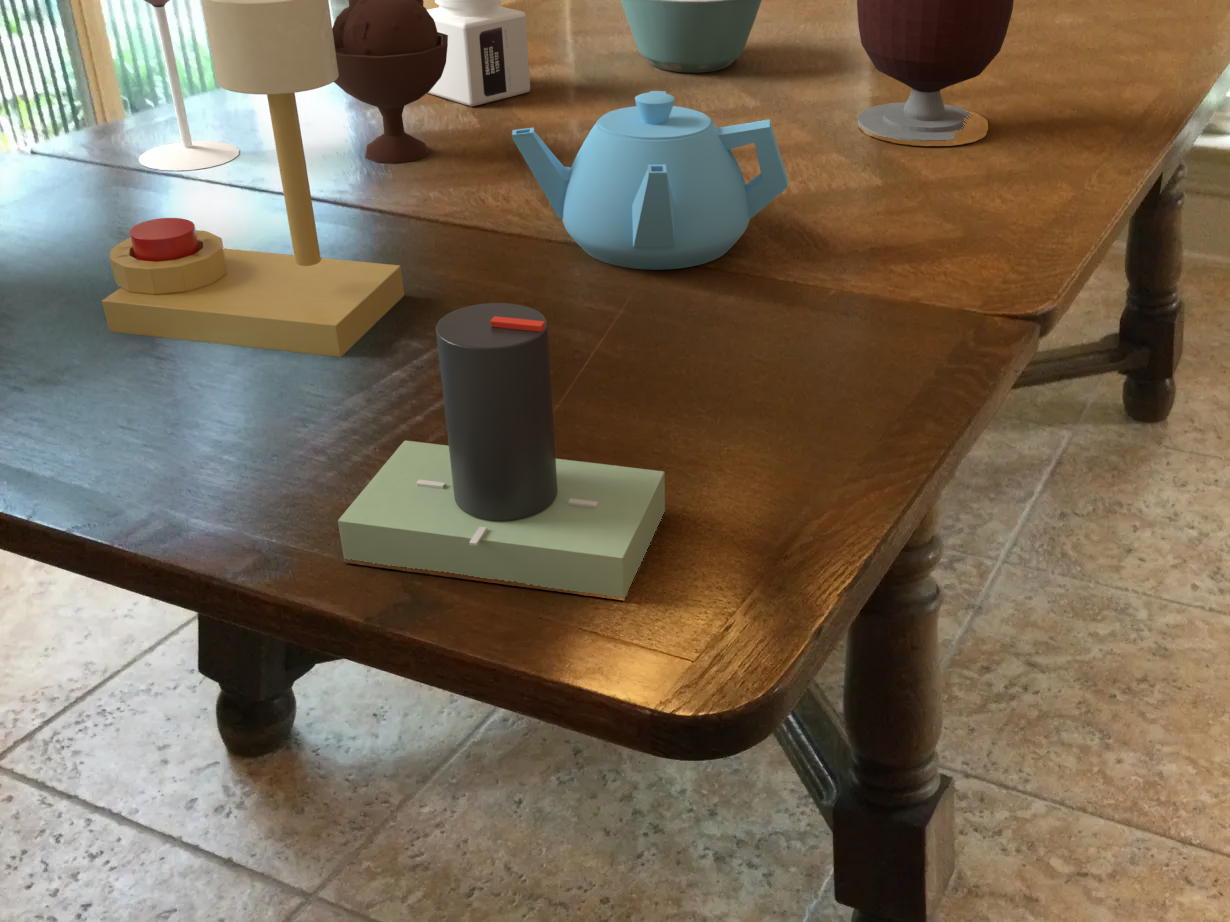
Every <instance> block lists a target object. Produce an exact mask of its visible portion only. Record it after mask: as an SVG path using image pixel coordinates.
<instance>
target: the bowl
mask: <svg viewBox="0 0 1230 922" xmlns="http://www.w3.org/2000/svg"><path fill="white" fill-rule="evenodd" d="M620 2H621V5H622V8H623V11H624V15H625V18H626V21H627V23H628V26H629V29H630V32H631V34H632V37H633V40H634V42H635V45H636V48H637V50H638V53H639V54H640V55H641V56H642V57H643V58H644V59H645V60H647V61H648V62H649V63H650V64H651V65H652V66H653V67H656V68H657V69H661V70H663V71H669V72H676V73H685V74H687V73H688V74H690V73H691V74H698V73H709V72H716V71H720V70H723V69H726V68H728V67H729V66H731V65H732V64H733V63H734V62H735V61H736V60H737V59H738V58H739V57H740V56H741V55H742V54H743V53H744V51H745V48H746V45H747V42H748V40H749V37H750V34H751V32H752V30H753V26H754V23H755V21H756V18H757V15H758V12H759V9H760V7H761V3H762V0H620Z"/></svg>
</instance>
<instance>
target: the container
mask: <svg viewBox="0 0 1230 922" xmlns="http://www.w3.org/2000/svg"><path fill="white" fill-rule="evenodd" d="M434 3H435V4H436V5H438V7H433V8H428V9H427V8H426V10H427V11H428V13H429V14H430V15H431V17H432V18H433V19H434V21H435V25H436V28H437V32H439V33H443V34H446V35H448V47H447V58H446V64H445V67H444V70H443V73H442V76H441V78H440V79H439V80H438V82H437V83H436V84H435V85H434V86H433V88H432V89H431V90H430V91H429V92H428V93H427V94H429V95H433V96H436V97H438V98H443V99H445V100H448V101H451V102H455V103H458V104H461V105H465V106H468V107H477V106H480V105H484V104H489V103H492V102H496V101H500V100H504V99H509V98H512V97H516V96H520V95H525V94H527V93H530V91H531V77H530V63H529V48H528V47H529V46H528V45H529V44H528V30H527V15H526V13H525V12H524V11H522V10H519V9H513V8H509V7H505V6H502V5H501V4H502V3H504V0H434Z"/></svg>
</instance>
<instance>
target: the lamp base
mask: <svg viewBox="0 0 1230 922" xmlns="http://www.w3.org/2000/svg"><path fill="white" fill-rule="evenodd" d="M195 230H196V234H197V239H198V244H199V249H200V251H198V252H197V253H195V254H194V255H190V256H187V257H184V258H180V259H177V260H170V261H160V262H152V261H142V260H138V259H136V258H135V254H134V250H133V246H132V242H131V237H128V238H126V239H124V240H123V241H121V242H120V243H117V244H116V245H115V246H113V247H112V248H110V254H109V262H110V266H111V270H112V274H113V279H114V282H115V285H116V286H119V288H118V289H117V290H115V291H114V292H112V293H111V294H109V295H108V296H106V297H105V298H103V299H102V300H101V303H102V307H103V311H104V316H105V318H106V323H107V326H108V331H109V332H110V333H117V334H127V335H136V336H145V337H152V338H153V337H154V338H162V339H171V340H172V339H173V340H179V341H180V340H181V341H190V342H199V343H207V344H208V343H209V344H218V345H226V346H236V347H244V348H245V347H246V348H253V349H255V348H256V349H263V350H271V351H281V352H289V353H300V354H307V355H317V356H327V357H336V358H341V357H343V356H344V355H345V354H346V353H347V352H348V351H349V350H350V349H351V348H352V347H353V346H354V345H355V344H356V343H357V342H358V341H359V340H360V339H361V338H362V337H363V336H365V335H366V333H368V332H369V330H371V328H372V327H374V326H375V325H376V324H377V322H379V321H380V320H381V319H382V318H383V317H384V316H385V315H386V314H387V313H388V312H389V311H390V310H391V309H392V308H393V307H394V306H395V305H396V304H397V303H398V302H399V301H400V300H401V299H403V297H405V290H404V281H403V272H402V266H401V265H399V264H389V263H388V264H387V263H380V262H379V263H377V262H368V261H360V260H359V261H358V260H357V261H356V260H348V259H337V258H327V257H321V261H320V262H319V263H318V264H315V265H311V266H301V265H298V264H296V262H295V258H294V254H286V253H277V252H276V253H275V252H267V251H266V252H265V251H254V250H244V249H234V248H224V244H223V243H224V242H223V239H222V237H220V236H218V235H216V234H214V233H211V232H209V231H206V230H198V229H195Z"/></svg>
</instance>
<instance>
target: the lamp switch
mask: <svg viewBox="0 0 1230 922" xmlns="http://www.w3.org/2000/svg"><path fill="white" fill-rule="evenodd" d="M196 230H197V229H196V226H195V223H194V222H193V221H191V220H189V219H186V218H182V217H181V218H180V217H161V218H154V219H149V220H145V221H142V222H140V223H137V224H135V225H133V226H132V227H131V228H130V229H129V238H131V242H132V246H133V250H134V254H135V258H136V259H138V260H142V261H152V262H160V261H170V260H177V259H180V258H184V257H187V256H190V255H194V254H195V253H197V252H198V251H200V249H199V244H198V239H197V234H196Z"/></svg>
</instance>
